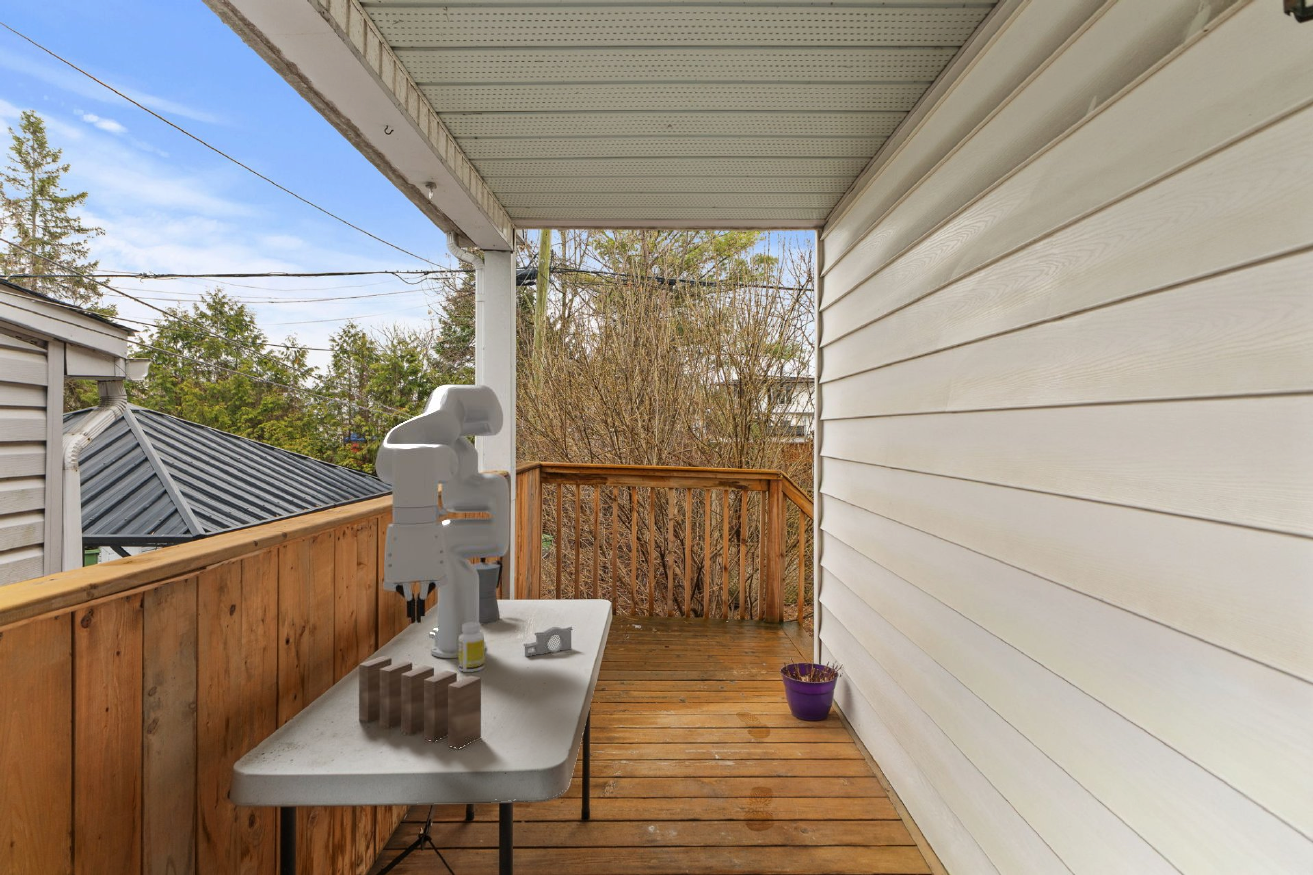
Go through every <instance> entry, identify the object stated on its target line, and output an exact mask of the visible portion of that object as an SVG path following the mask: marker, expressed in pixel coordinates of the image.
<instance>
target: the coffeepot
mask: <svg viewBox="0 0 1313 875" xmlns="http://www.w3.org/2000/svg"><path fill="white" fill-rule="evenodd" d="M486 561H487V558H480V562H477V563H472V565H473V566H474V567H475V569H476V570H477V572H478V575H479V623H483V624H489V623H488V622H490V623H493V622H492V621H494V622H496V620H497V621H499V620H500V617H501V616H500V615H501V614H500V611H499V605H498V599H497V596H496V591H497V589H499V587H500V582H501V577H502V572H503V564H502V561H500V559H499V560H494V561H490V562H486Z"/></svg>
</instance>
